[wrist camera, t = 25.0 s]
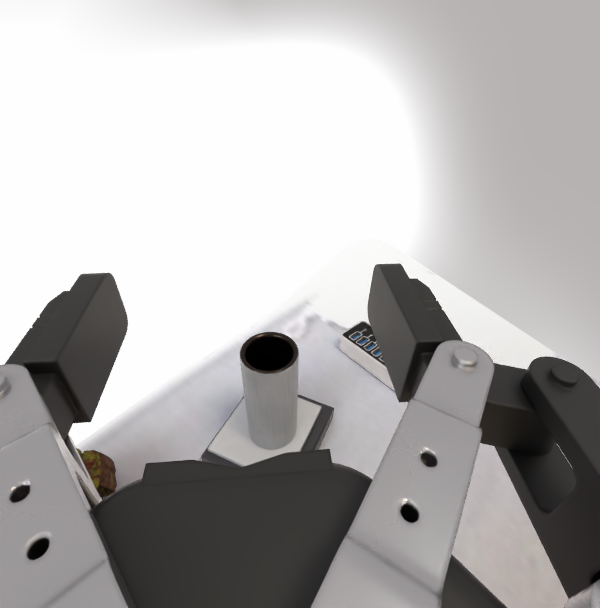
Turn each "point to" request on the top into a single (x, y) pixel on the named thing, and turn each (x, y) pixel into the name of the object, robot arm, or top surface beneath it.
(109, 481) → the toy car
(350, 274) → the top surface
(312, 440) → the scale
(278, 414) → the grey hollow cylinder
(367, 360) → the multiport hub
